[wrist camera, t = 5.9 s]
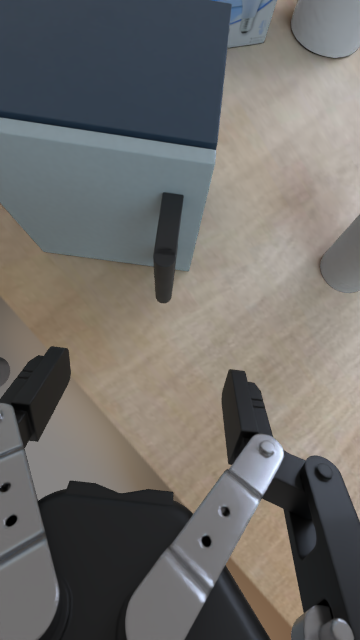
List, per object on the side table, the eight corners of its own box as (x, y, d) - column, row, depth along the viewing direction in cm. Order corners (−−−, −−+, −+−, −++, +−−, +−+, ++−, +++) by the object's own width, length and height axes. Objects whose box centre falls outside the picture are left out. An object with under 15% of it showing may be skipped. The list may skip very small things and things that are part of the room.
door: (183, 318, 29) (206, 249, 14) (31, 298, 29) (-108, 206, 14) (189, 263, 31) (216, 149, 16) (45, 243, 30) (-68, 106, 15)
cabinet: (190, 261, 31) (217, 143, 16) (46, 242, 30) (-69, 99, 15) (199, 176, 33) (232, 3, 18) (67, 156, 33) (-13, -39, 18)
